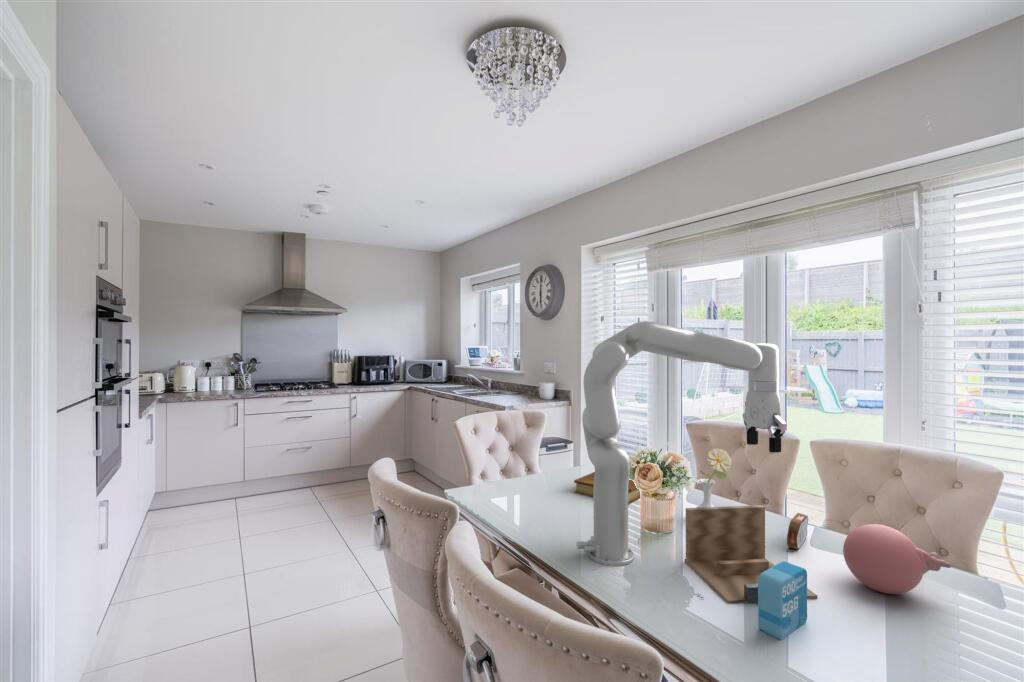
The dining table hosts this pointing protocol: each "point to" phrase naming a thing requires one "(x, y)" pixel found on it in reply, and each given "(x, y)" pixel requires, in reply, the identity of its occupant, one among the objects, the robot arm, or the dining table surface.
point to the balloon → (887, 559)
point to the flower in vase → (719, 463)
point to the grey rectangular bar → (751, 592)
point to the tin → (797, 531)
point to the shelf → (728, 548)
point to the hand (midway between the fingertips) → (763, 448)
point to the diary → (587, 486)
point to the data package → (782, 599)
